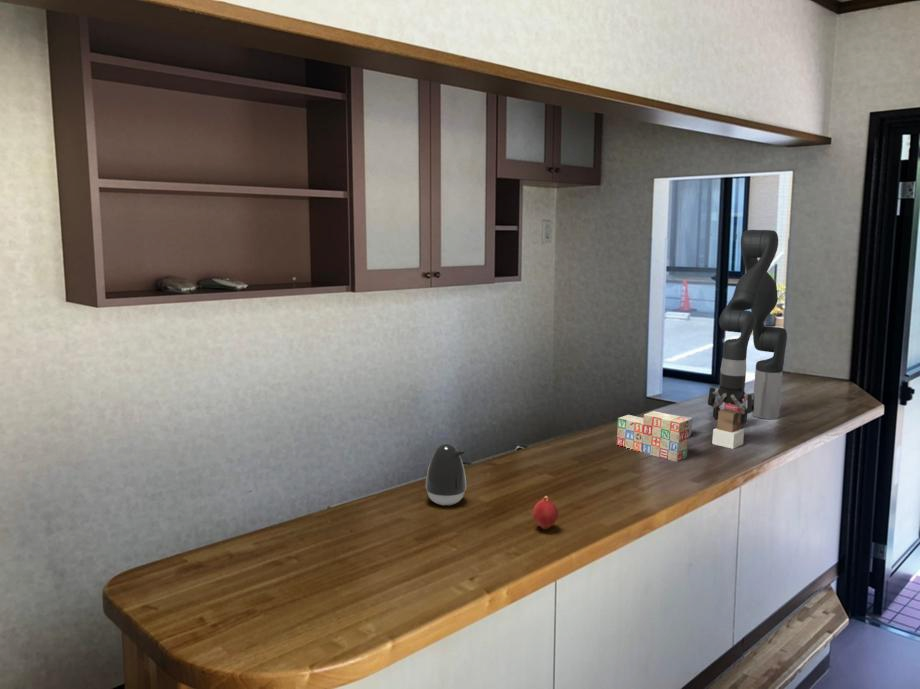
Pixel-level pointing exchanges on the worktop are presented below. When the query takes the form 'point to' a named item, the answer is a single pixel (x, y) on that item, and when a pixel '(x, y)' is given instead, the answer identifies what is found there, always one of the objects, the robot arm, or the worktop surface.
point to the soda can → (734, 407)
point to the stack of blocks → (655, 434)
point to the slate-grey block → (689, 424)
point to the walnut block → (728, 420)
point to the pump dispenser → (446, 475)
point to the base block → (728, 438)
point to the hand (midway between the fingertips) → (729, 422)
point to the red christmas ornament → (545, 513)
